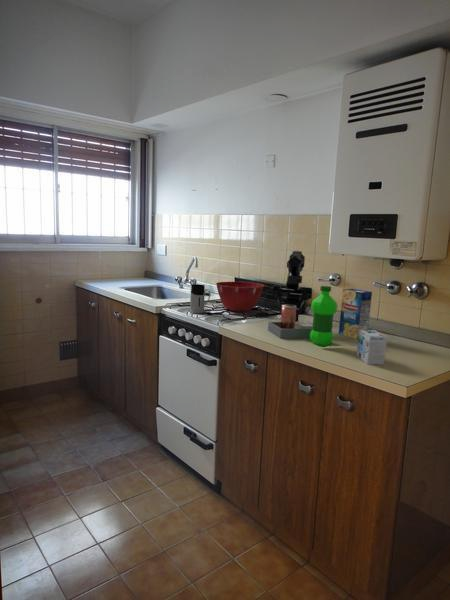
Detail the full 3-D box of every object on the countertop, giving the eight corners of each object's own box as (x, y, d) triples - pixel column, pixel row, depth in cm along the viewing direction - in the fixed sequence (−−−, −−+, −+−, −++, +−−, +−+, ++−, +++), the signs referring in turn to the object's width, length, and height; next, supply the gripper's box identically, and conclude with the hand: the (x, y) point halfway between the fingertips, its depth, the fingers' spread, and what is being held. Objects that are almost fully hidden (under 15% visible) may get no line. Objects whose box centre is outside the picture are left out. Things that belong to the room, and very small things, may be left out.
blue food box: (357, 341, 188) (362, 292, 185) (338, 335, 197) (342, 289, 194) (367, 339, 192) (372, 291, 189) (348, 334, 201) (352, 288, 198)
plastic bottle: (303, 342, 181) (308, 284, 177) (324, 341, 185) (329, 284, 181) (317, 349, 172) (322, 288, 168) (338, 347, 176) (344, 288, 172)
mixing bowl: (205, 307, 252) (206, 282, 249) (238, 303, 271) (240, 280, 269) (238, 316, 232) (239, 288, 229) (272, 311, 251) (274, 285, 248)
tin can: (284, 331, 196) (285, 303, 194) (296, 333, 192) (298, 305, 190) (277, 333, 191) (279, 305, 189) (290, 336, 187) (292, 307, 185)
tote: (306, 331, 202) (307, 321, 201) (321, 339, 188) (322, 328, 187) (267, 332, 197) (268, 321, 196) (280, 340, 183) (280, 329, 182)
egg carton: (306, 331, 199) (306, 321, 198) (315, 336, 190) (316, 326, 189) (293, 331, 197) (294, 321, 196) (302, 336, 188) (303, 326, 188)
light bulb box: (355, 356, 165) (358, 329, 163) (372, 356, 165) (375, 329, 164) (367, 364, 154) (370, 335, 153) (384, 365, 155) (388, 336, 153)
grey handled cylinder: (197, 309, 245) (198, 283, 243) (214, 313, 235) (215, 286, 233) (186, 310, 239) (186, 284, 236) (203, 315, 229) (204, 287, 227)
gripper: (273, 267, 200) (269, 294, 191) (313, 270, 196) (311, 297, 187) (274, 282, 209) (270, 308, 200) (312, 285, 205) (310, 311, 196)
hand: (290, 306), depth 196 cm, fingers open, 9 cm apart
